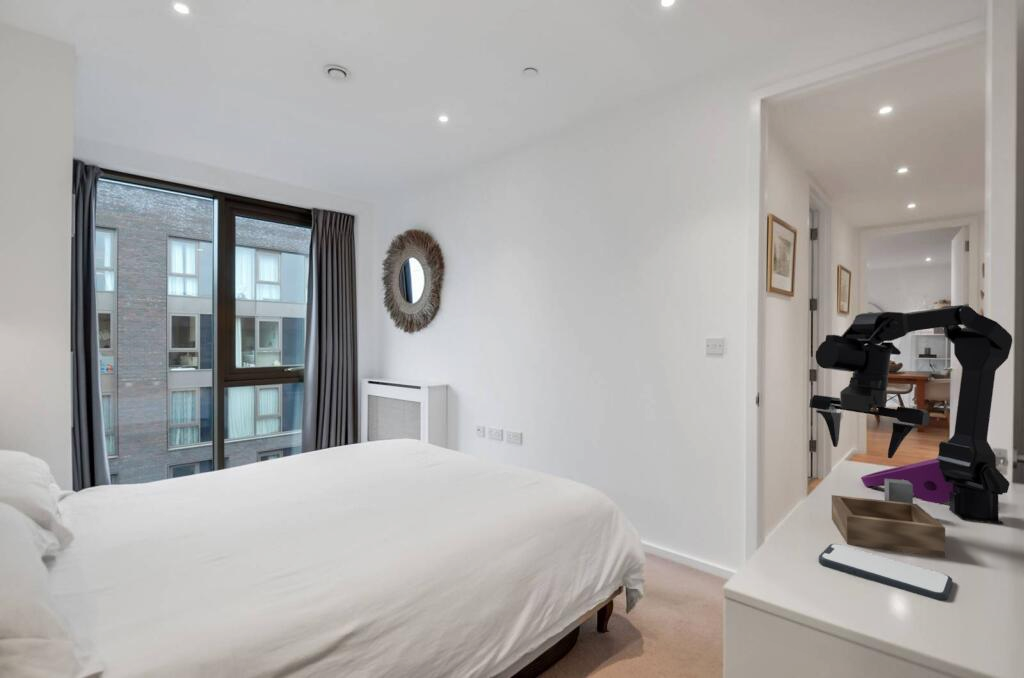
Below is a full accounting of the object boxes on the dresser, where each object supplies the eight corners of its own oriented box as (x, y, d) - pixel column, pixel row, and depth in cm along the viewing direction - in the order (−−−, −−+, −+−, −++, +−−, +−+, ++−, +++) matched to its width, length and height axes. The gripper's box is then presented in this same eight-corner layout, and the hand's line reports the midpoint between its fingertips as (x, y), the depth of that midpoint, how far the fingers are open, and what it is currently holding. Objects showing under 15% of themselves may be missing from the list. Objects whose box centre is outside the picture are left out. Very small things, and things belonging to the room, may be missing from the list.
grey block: (901, 508, 106) (901, 476, 106) (912, 518, 100) (912, 484, 100) (879, 505, 108) (879, 474, 108) (889, 515, 102) (889, 482, 102)
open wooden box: (916, 529, 94) (916, 503, 94) (945, 557, 82) (945, 527, 82) (831, 519, 100) (831, 495, 100) (847, 544, 88) (847, 516, 88)
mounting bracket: (872, 514, 119) (961, 499, 106) (855, 480, 122) (939, 461, 109) (885, 506, 124) (971, 491, 112) (868, 473, 127) (949, 455, 114)
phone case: (953, 585, 74) (831, 550, 86) (953, 575, 74) (831, 541, 86) (945, 607, 68) (816, 566, 80) (946, 596, 68) (816, 556, 80)
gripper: (803, 366, 99) (794, 442, 99) (919, 378, 85) (909, 467, 85) (823, 370, 106) (815, 441, 106) (934, 381, 92) (925, 463, 91)
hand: (861, 452), depth 97 cm, fingers open, 9 cm apart
